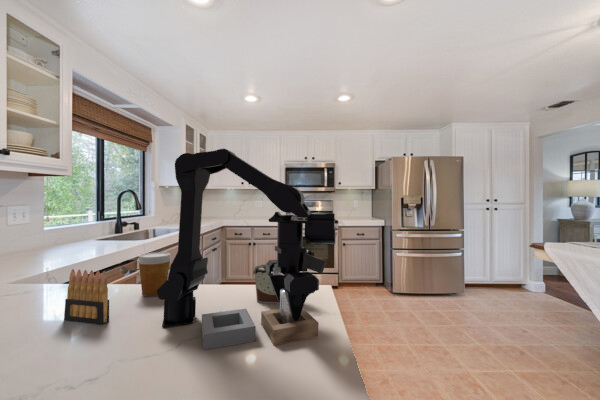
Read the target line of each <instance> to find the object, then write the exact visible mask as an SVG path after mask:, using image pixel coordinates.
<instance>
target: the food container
mask: <svg viewBox="0 0 600 400" xmlns="http://www.w3.org/2000/svg"><path fill="white" fill-rule="evenodd" d="M267 274H268V273H267V272H266V263H265V264H260V265H257V266H254V269H252V275H254V281H255V293H256V303H265V304H266V303H267V304H279V301H278V299H277V296H276V294H275V291H274V289H273V286H272V284H271V282H270V279H269V277H268V275H267Z"/></svg>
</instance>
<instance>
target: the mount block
mask: <svg viewBox="0 0 600 400" xmlns="http://www.w3.org/2000/svg"><path fill="white" fill-rule="evenodd" d="M260 313H261V314H260V315H261V316H260V325H261V327H262V329H263V330H264V331H265V333H266V335H267V337H268V338H269V340H270V343H271V345H273V346H276V345H282V344H287V343H292V342H293V343H294V342H297V341H302V340H308V339H313V338H317V337H319V324H320V323H319V322H318V320H317V319H315V318H314V317H313V316H312V315H311V314H310V313H309V312H308V311H306V310H305V308H303V309H302V312H301V315H300V318H299V320H298V321H297V322H292V323H286V324H280V308H277V309H270V310H262V311H261V312H260Z"/></svg>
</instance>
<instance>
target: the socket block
mask: <svg viewBox="0 0 600 400" xmlns="http://www.w3.org/2000/svg"><path fill="white" fill-rule="evenodd" d="M201 336H202V348H203V351H206V350H211V349H213V350H214V349H218V347H219V348H223V347H228V346H235V345H240V344H244V343H251V342H255V341H256V325H255V322H254V321H253V319H252V317H251V315H250V313H249V311H248V309H247V308H239V309H233V310H226V311H217V312H209V313H202V314H201Z"/></svg>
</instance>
